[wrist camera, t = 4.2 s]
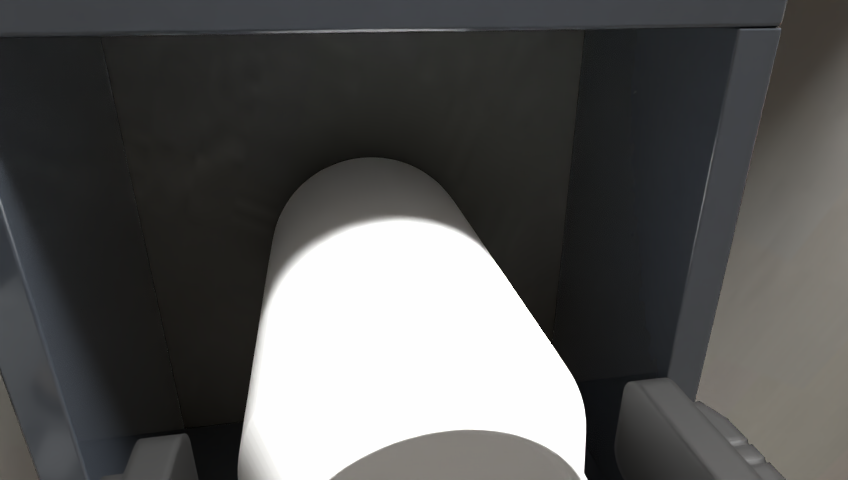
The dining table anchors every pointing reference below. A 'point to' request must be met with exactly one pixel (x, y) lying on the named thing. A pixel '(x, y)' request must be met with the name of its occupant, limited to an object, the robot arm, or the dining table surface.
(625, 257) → the grey open box
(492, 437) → the beverage can
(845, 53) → the dining table surface
